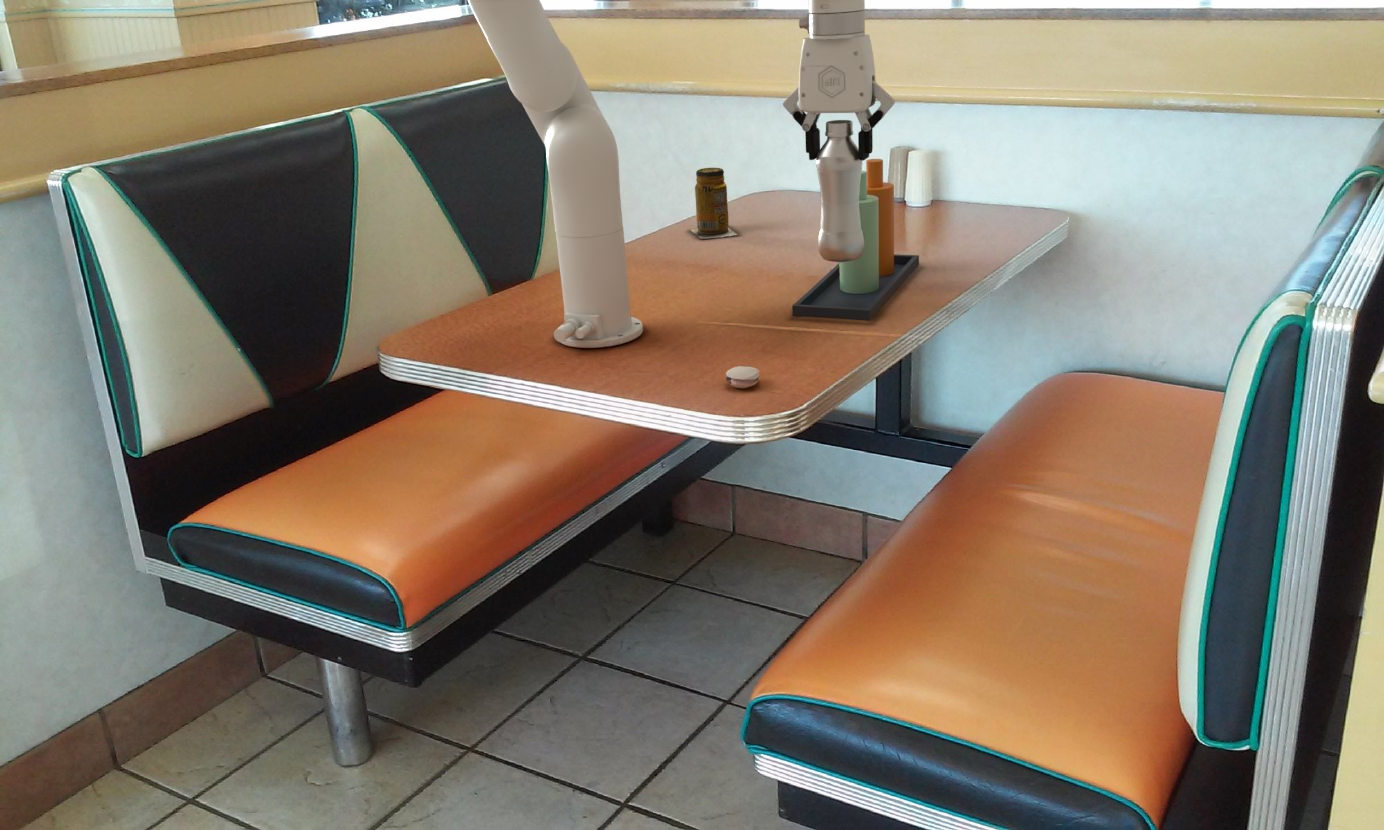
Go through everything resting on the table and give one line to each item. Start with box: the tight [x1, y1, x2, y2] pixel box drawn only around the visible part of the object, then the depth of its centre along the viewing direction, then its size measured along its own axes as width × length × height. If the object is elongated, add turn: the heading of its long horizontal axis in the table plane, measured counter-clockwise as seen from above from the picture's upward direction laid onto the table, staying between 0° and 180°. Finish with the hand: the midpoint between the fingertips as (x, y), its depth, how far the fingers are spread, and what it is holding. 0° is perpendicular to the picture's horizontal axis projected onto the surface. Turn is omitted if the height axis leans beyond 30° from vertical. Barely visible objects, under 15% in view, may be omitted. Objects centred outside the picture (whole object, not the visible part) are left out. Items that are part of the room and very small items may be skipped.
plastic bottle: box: [815, 119, 864, 263], centre depth 168 cm, size 6×7×20 cm
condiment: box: [690, 167, 738, 240], centre depth 222 cm, size 7×8×12 cm
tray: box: [791, 253, 920, 322], centre depth 182 cm, size 31×12×2 cm, turn 157°
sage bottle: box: [838, 170, 879, 294], centre depth 178 cm, size 6×6×18 cm
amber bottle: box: [865, 158, 895, 277], centre depth 186 cm, size 6×6×18 cm
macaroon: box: [725, 365, 760, 389], centre depth 147 cm, size 4×5×2 cm
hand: (839, 157), depth 166 cm, fingers closed on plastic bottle, 6 cm apart
